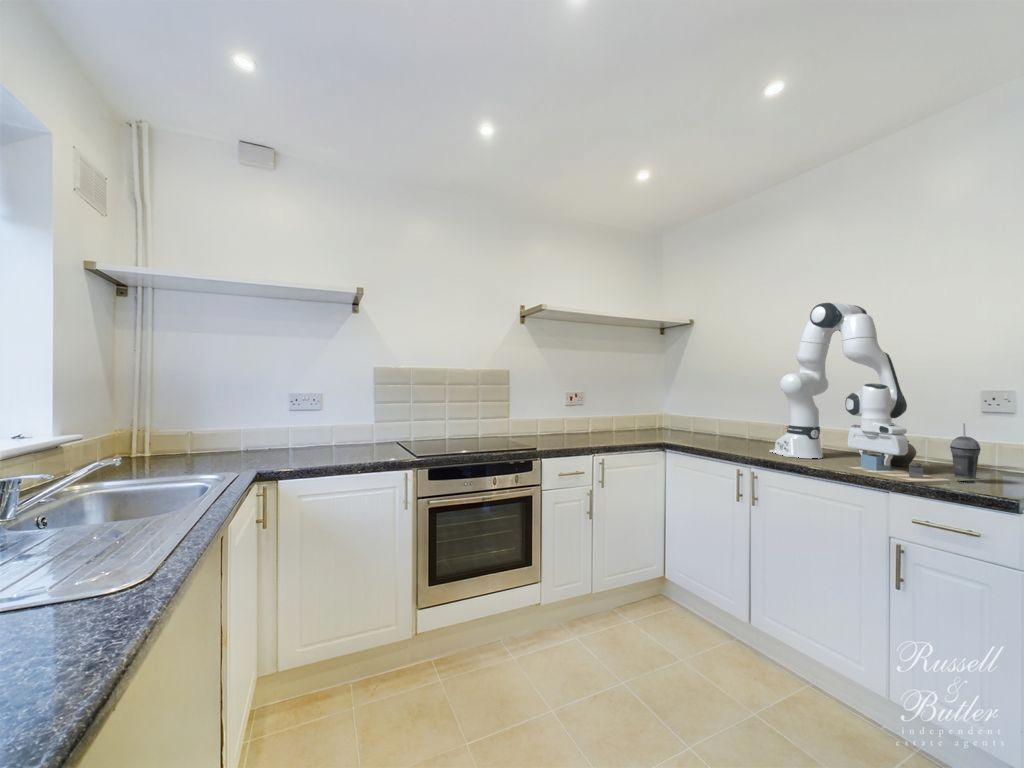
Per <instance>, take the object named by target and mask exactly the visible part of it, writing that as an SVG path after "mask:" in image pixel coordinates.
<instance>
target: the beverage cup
mask: <svg viewBox="0 0 1024 768" xmlns="http://www.w3.org/2000/svg"><path fill="white" fill-rule="evenodd" d="M962 435H963V436H957V437H956V438H953V440H952V441H951V442H950V446H949V448H950V452H951V457H952V467H953V473H954V477H955V478H959V479H965V480H958V481H959V483H964V482H965V483H966V484H975V483H976V480H975V479H976V477H977V471H978V470H977V468H978V462H979V456H980V454H981V450H982V449H981V446H980V443H979V442H978V441H977V440H976V439H974V438H972V437H971V436H966V423H962ZM966 479H968V480H966Z"/></svg>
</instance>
